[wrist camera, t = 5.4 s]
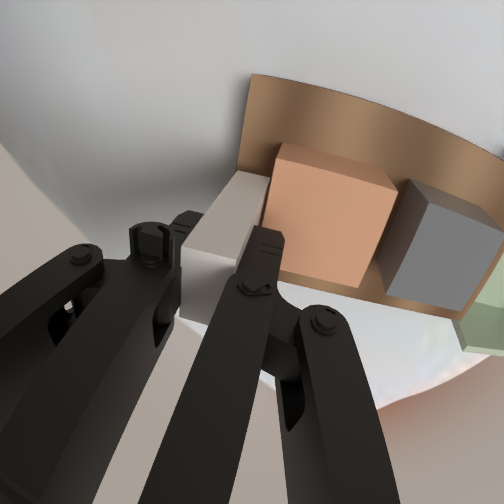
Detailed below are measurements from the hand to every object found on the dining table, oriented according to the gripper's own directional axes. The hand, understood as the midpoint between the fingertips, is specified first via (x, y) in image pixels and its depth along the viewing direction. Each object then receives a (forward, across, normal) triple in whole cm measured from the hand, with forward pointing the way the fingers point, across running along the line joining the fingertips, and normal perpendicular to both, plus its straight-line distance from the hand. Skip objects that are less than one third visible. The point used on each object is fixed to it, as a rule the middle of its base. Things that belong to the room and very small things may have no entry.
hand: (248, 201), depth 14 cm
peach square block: (+2, +3, 0) cm, 4 cm away
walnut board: (+6, +7, 0) cm, 9 cm away
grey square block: (+2, +10, 0) cm, 10 cm away
